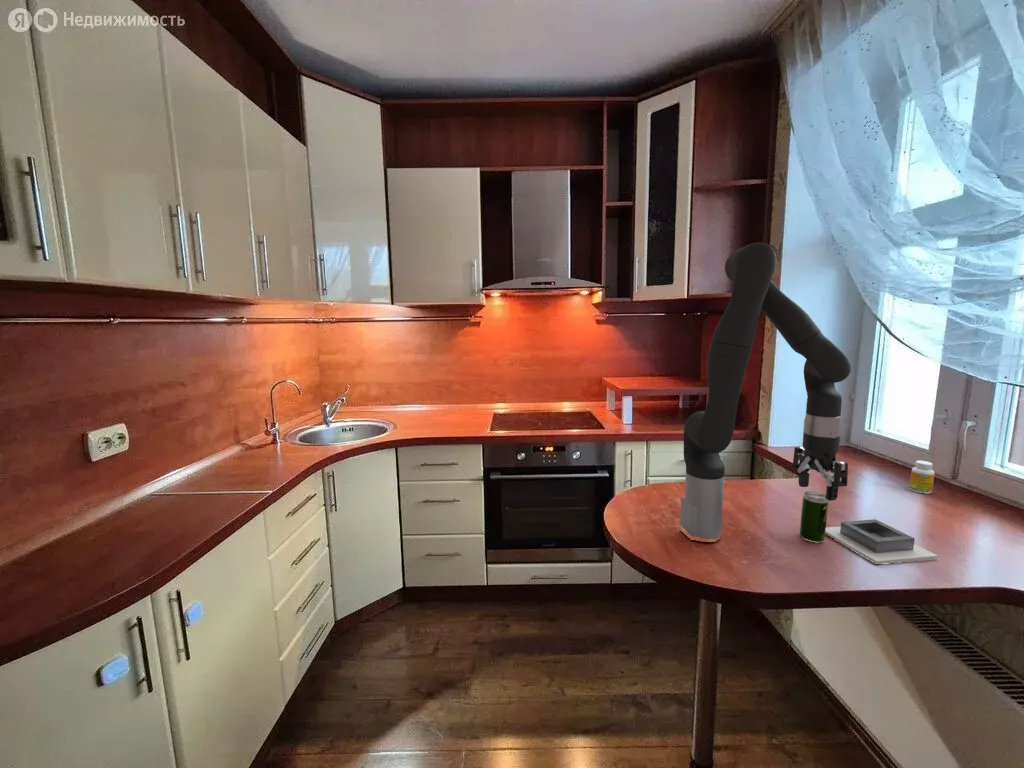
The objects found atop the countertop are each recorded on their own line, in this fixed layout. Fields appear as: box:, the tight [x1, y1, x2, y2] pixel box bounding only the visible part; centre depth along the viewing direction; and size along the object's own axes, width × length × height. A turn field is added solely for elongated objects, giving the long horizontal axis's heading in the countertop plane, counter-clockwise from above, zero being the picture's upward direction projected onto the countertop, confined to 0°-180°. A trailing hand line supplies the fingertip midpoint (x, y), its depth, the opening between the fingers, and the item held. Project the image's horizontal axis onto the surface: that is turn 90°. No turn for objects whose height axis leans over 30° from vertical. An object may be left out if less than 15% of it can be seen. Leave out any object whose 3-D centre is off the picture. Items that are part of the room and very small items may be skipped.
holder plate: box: [825, 525, 939, 564], centre depth 108 cm, size 16×16×1 cm
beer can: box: [799, 490, 829, 542], centre depth 111 cm, size 5×5×12 cm
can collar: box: [840, 518, 915, 553], centre depth 108 cm, size 10×10×3 cm
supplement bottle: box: [908, 460, 935, 495], centre depth 139 cm, size 5×5×10 cm
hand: (816, 493), depth 110 cm, fingers open, 8 cm apart
